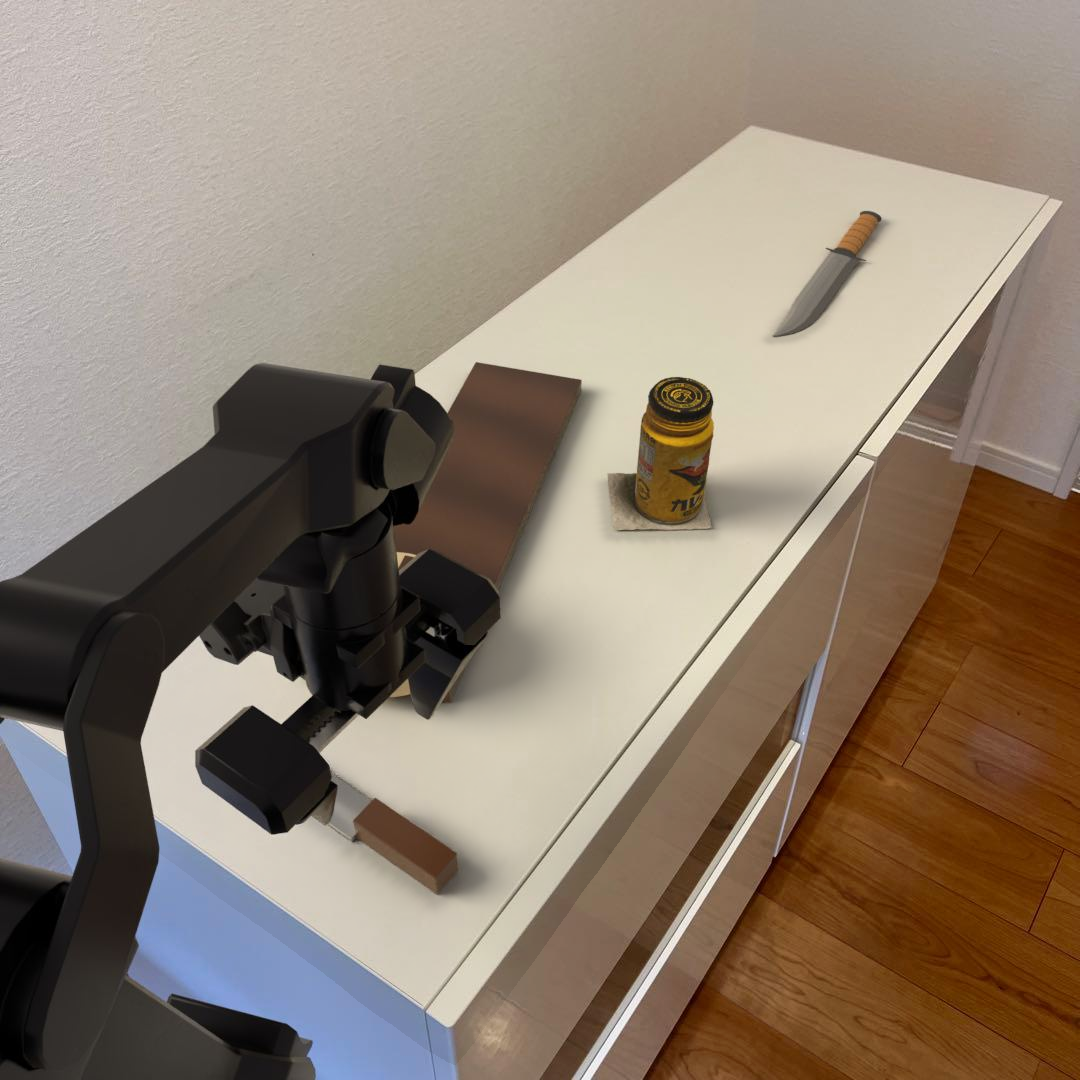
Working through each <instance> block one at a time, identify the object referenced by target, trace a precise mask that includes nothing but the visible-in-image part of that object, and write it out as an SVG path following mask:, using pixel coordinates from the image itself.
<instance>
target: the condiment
mask: <svg viewBox="0 0 1080 1080" xmlns="http://www.w3.org/2000/svg"><path fill="white" fill-rule="evenodd" d="M713 406H714V398H713V394H712V392H711V390H710V389H709V387H707V386H706V385H705V384H704V383H702V382H700V381H698V380H695V379H693V378H690V377H682V376H671V377H665V378H663V379H661V380H659V381H657V382H656V383H655V384H654V385H653V386H652V388H651V389H650V390H649V393H648V395H647V405H646V409H645V412H644V413H643V415H642V417H641V422H640V431H639V432H640V433H639V440H638V441H639V442H638V443H639V444H638V454H637V455H638V456H637V465H636V472H634V473H625V472H608V473H607V474H606V475H607V483H608V485H607V486H608V493H609V501H610V509H611V516H612V524H613V531H621V530H623V531H624V530H627V531H634V530H661V531H662V530H667V531H668V530H706V529H712V528H713V526H712V523H711V518H710V514H709V510H708V509H709V508H708V505H707V501H706V496H705V495H706V494H705V490H706V485H707V476H708V471H709V465H710V456H711V449H712V445H713V443H712V442H713V438H714V428H715V424H714V423H715V422H714V419H713V418H712V415H713Z"/></svg>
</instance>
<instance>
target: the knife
mask: <svg viewBox="0 0 1080 1080" xmlns="http://www.w3.org/2000/svg"><path fill="white" fill-rule="evenodd" d="M879 222H882V216H881V215H880V214H879V213H878V212H875V211H871V210H863V211H860V212H859V216H858V218H857V219H856V220H855V221H854V222H853V223H852V225H851V226H850V228H849V229H848V230H847V232H846V233H845V234H844V235H843V237H842V238H841V240H840V241H839V243H838V244H837V247H834V249H833V248H830V247H825V249H826V250H828V251H829V253H828V254H827V256H826V257H825V259H824V260H823V261H822V263H821V264H820V265H819V266H818V268H817V269H816V271H815V272H814V273H813V275H812V276H811V278H810V279H809V280H808V282H807V283H806V284H805V285H804V287H803V289H802V290H801V291H800V292H799V294H798V295H797V296H796V298H795V299H794V301H793V303H792V305H791V307H790V309H789V311H788V313H787V314H786V316H785V317H784V318H783V320H782V322H781V323H780V325H779V326H778V327H777V329H776V330H775V332H774V333H773V335H772V337H781V336H782V337H783V336H786V335H791V334H795V333H798V332H800V331H803V330H804V329H806V328H808V327H809V326H812V324H813V323H814V322H815V321H816V320H818V318H819V317H820V316H821V314H822V313H823V312H824V311H825V309H826V308H827V306H828V305H829V304H830V303H831V301H832V299H833V298H834V297H835V295H836V293H837V292H838V291H839V289H840V288H841V286H842V285H843V284H844V282H845V280H846V279H847V278H848V276H849V275H850V274H851V272H852V270H853V269H854V267H856V266H857V265H858V264H859V263H860V261H861V262H862V261H863V262H867V260H866V259H864V258H861V257H858V256H856V254H857V253H858V252H859V250H860V249H861V247H862V246H863V245H864V244H865V242H866V241H867V239H868V238H869V236H870V235H871V233H872V232H873V230H874V229H875V227H876V226H877V224H878V223H879Z"/></svg>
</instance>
